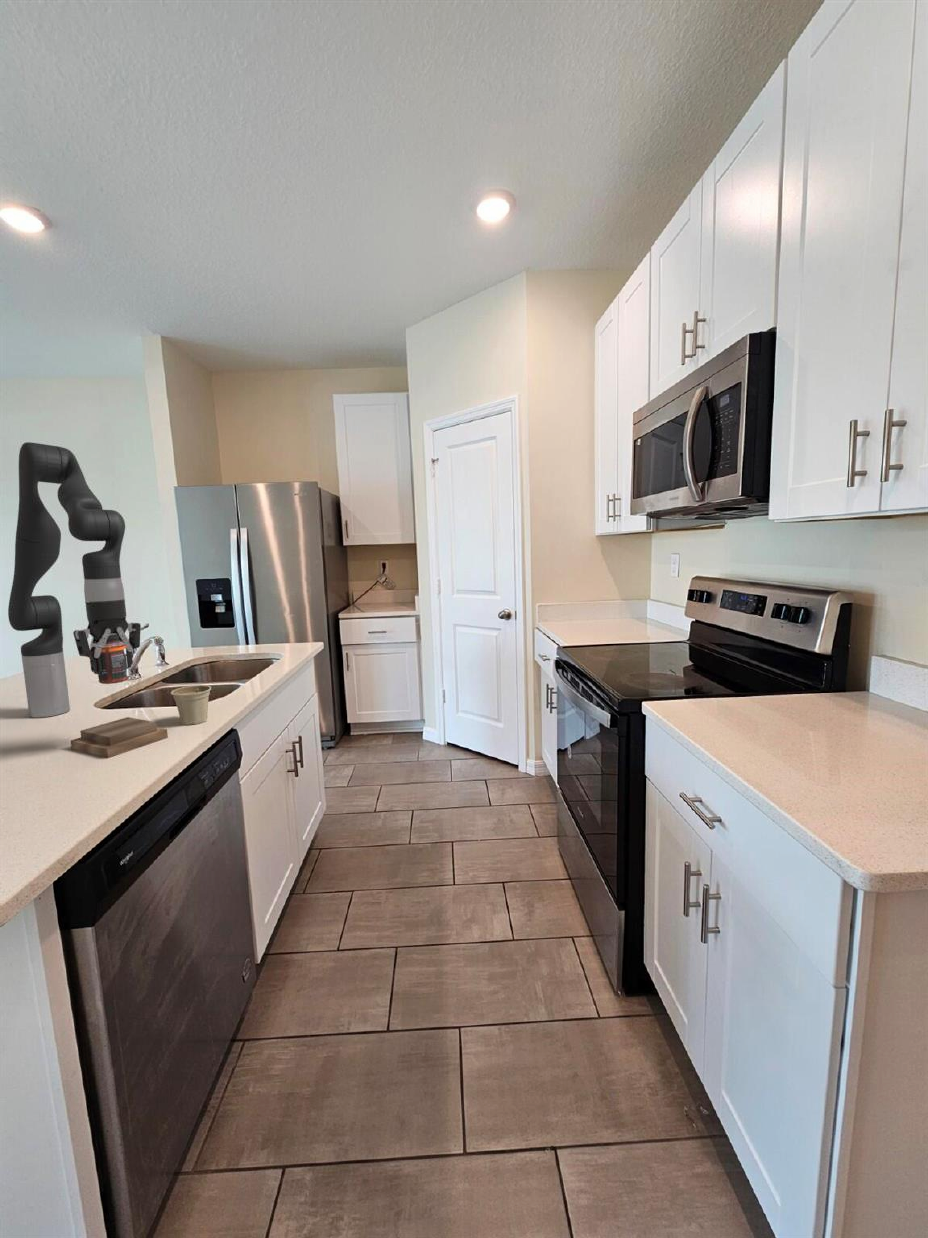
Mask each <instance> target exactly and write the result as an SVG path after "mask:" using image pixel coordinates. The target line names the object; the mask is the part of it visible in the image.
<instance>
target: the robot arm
mask: <svg viewBox="0 0 928 1238" xmlns="http://www.w3.org/2000/svg"><path fill="white" fill-rule="evenodd" d="M85 478H86V477H85V476H84V473H83V470H82V469H81V467H80V464H79V462H78V459H77V457H76V456H75V454H74V453H73V452H72V451H71V450H70V449H69V448H67V447H62V446H58V445H57V446H56V445H50V444H43V443H39V442H31V441H30V442H27V441H26V442H24V443H22V444H21V446H20V449H19V454H18V496H19V498H18V499H19V500H18V511H17V512H18V513H17V522H16V530H15V531H16V532H15V543H14V546H15V547H14V570H13V578H12V585H11V589H10V595H9V601H8V606H7V607H8V610H7V612H8V614H7V617H8V622H9V624H10V626H11V628H12V629H14V631H19V632H27V631H37V630H41V633H40V634H39V635H38V636H37V637H35V638H34V639H32V640H30V641H28V642H25V643H23V644H22V645H21V646H20V655H21V663H22V669H23V678H24V684H25V685H24V686H25V691H26V700H27V707H28V716H29V717H30V718H34V719H35V718H48V717H54V716H58V715H61V714H65V713H68V712H69V711H70V710H71V706H70V698H69V689H68V681H67V673H66V671H67V670H66V665H65V664H66V663H65V656H64V648H63V646H64V645H63V644H64V635H63V617H62V608H61V605H60V602H59V600H58V599H57V598H56V597H55V596H54V595H50V594H47V595H45V594H44V595H33V593H34V589H35V587H36V586H37V584H38V582H39V581H40V580H41V579H42V578H43V577H44V576H45V574H46V573H48V572H49V570H50V569H52V566H53V565H54V564H56V562H57V561H58V558H59V557H60V551H61V542H62V541H61V540H62V532H61V529H60V527H59V525H58V524H57V522H56V520H55V518H53V516H52V514H51V513H50V512H49V511H48V509H47V508H46V506H45V505H44V502H43V501H42V499H41V495H40V493H39V489H38V488H39V487H38V486H39V483H48V484H49V483H50V484H58V485H59V487H58V489H57V499H58V501H59V504H60V505H61V507H62V508H63V510H64V511H65V513H66V514H67V517H68V522H67V524H68V531H69V533H70V535H71V536H72V537H73V538H75V539H76V540H78V541H82V542H105V544H104V546H103V547H102V548H101V549H100V550H96V551H91V552H87V553H84V554H83V555H82V558H81V561H82V562H81V563H82V571H83V572H82V573H83V579H84V580H83V582H84V583H83V593H84V602H85V612H86V619H87V622H88V626H87V628H84V629H77V630H74V631H73V633H72V634H73V637H74V642H75V645H76V648H77V652H78V655H79V656H80V657H86V658H88V659H89V664H90V670H91V672H92V673H94V675H98V674H102V673H103V672H102V663H101V658H99V656H100V654H101V651H102V648H104V647H105V644H106V641H107V638H108V636H109V635H110V634H114V633H118V635H119V637H120V638H119V639H120V640H121V641H122V642H123V643H124V644H125V646H126V655H127V664H128V669H130V668H132V665H133V663H134V661H133V651H134V650H135V649H138V648H140V647H141V626H142V625H141V623H139V622H127V619H126V617H127V609H126V599H125V588H124V585H123V580H122V575H121V574H122V573H121V565H120V564H121V561H120V560H121V559H120V558H121V551H122V545H123V540H124V537H125V531H126V523H125V519H124V517H123V516H122V514H120V512H118V511H117V510H114V509H113V510H112V509H103V505H102V503H101V502H100V500H99V499H98V497H97V496H96V495H95V494H94V492H93V491H92V490H91V489H90V487H89V485H88V484H87V481H86V479H85ZM127 631H128V636H127V635H126V634H125V633H126V632H127ZM89 635H90V636H91V637H92V639H91V641H90V644H89V640H88V638H89ZM98 642H99V643H98Z"/></svg>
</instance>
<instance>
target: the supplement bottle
mask: <svg viewBox="0 0 928 1238" xmlns="http://www.w3.org/2000/svg"><path fill="white" fill-rule="evenodd" d="M119 638H120V637H119V635H118V633H114V634H110V635H109V636H108V638H107V641H106V644H105V647H104V648H102V651H101V654H100V656H99V658H101V663H102V672H103V673H102V674H97V676H98V682H99V683H100V684H103V685H111V684H117V683H118V684H119V683H122V682H123V683H124V682H126V681H127V680H129V677H130V676H129V668H128V664H127V655H126V646H125V644H124V643H123V642H122V641H121V640H120V639H119ZM98 643H99V642H98Z"/></svg>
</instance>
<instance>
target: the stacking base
mask: <svg viewBox="0 0 928 1238" xmlns="http://www.w3.org/2000/svg"><path fill="white" fill-rule="evenodd" d="M167 738H169V735H168V729H167V728H161V727H158V725H157V722H155V721H150V720H144V719H140V718H134V717H129V716H127V717H124V718H120V719H117V720H113V721H110V722H109V721H108V722H106V723H103V724H99V725H96V726H93V727H89V728H86V729H82V730H80V737H78V738H77V737H76V738H73V739H71V740H70V747H71V750H75V751H78V752H79V751H80V752H83V753H88V754H91V755H93V756H94V755H96V756H99V757H103V758H108V759H110V758H112V757H116V756H118V755H121V754H124V753H127V752H130V751H133V750H135V749H138V748H142V747H144V746H147V745H150V744H154V743H156V742H158V741H161V740H164V739H167Z"/></svg>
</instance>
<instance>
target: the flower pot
mask: <svg viewBox="0 0 928 1238" xmlns="http://www.w3.org/2000/svg"><path fill="white" fill-rule="evenodd" d="M211 691H212V687H211V686H210V685H205V684H204V685H201V684H199V685H198V684H197V685H190V686H189V685H188V686H183V687H179V688H175V689H173V690H171V692H170V694H171V696H173V699H174V701H175V704H176V708H177V711H178V716H179V720H180V723H181V724H182V725H183V726H184V725H185V726H190V725H192V724H194V725H198V724H202V723H204V722H207V719H208V715H209V714H208V713H209V712H208V710H209V698H210V697H209V696H210V694H211V693H210V692H211Z"/></svg>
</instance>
